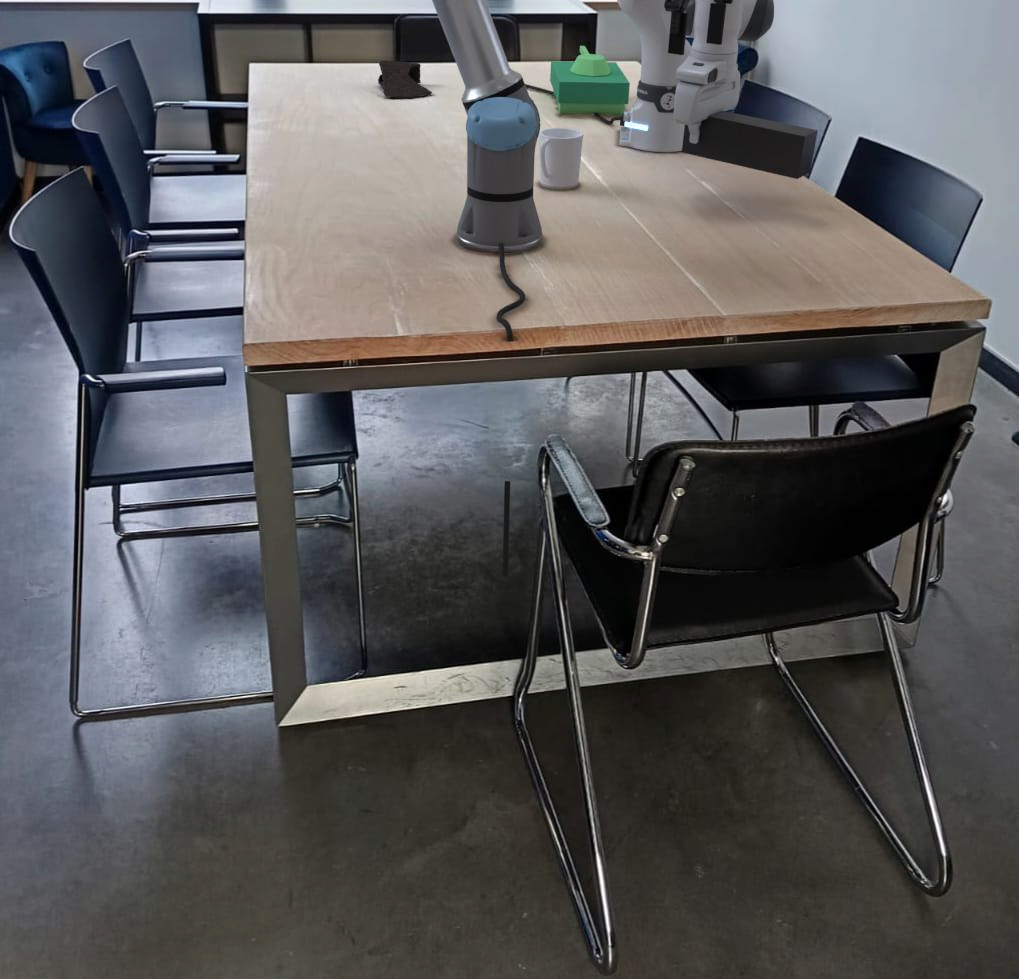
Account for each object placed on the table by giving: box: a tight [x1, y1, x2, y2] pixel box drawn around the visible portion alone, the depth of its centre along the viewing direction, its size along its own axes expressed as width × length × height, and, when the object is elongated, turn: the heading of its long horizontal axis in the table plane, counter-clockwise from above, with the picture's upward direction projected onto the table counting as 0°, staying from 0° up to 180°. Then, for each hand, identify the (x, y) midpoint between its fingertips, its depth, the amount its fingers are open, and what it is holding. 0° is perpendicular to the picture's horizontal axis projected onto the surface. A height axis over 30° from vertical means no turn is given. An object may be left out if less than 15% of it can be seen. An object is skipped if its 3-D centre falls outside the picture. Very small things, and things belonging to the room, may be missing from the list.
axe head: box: [377, 59, 433, 99], centre depth 299 cm, size 18×8×15 cm
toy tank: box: [549, 45, 631, 116], centre depth 289 cm, size 18×12×35 cm
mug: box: [538, 127, 584, 190], centre depth 223 cm, size 11×9×10 cm
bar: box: [681, 111, 818, 180], centre depth 211 cm, size 25×6×8 cm, turn 53°
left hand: (695, 48), depth 189 cm, fingers open, 13 cm apart
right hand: (703, 138), depth 216 cm, fingers closed on bar, 5 cm apart
